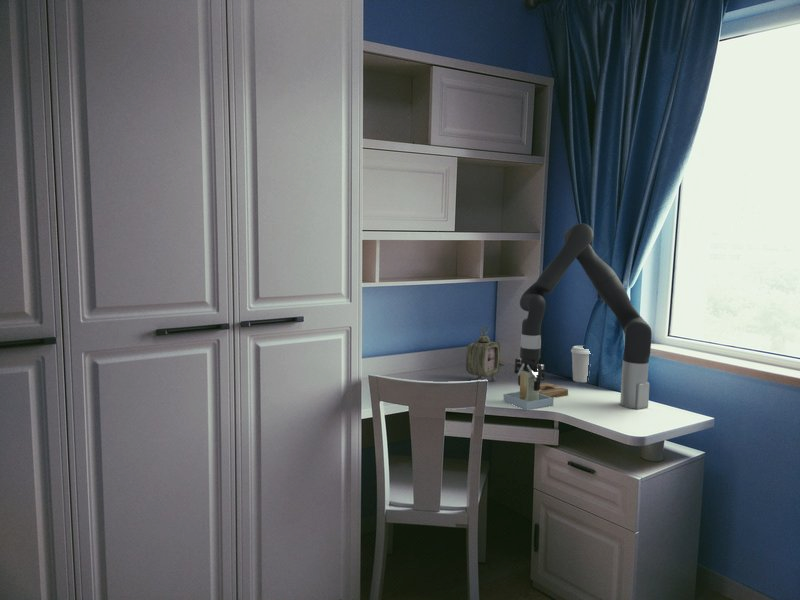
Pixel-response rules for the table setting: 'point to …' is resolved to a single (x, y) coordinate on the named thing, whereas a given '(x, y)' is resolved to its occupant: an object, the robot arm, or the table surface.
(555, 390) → the walnut plate
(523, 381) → the skincare box
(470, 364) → the tabletop clock
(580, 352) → the coffee cup
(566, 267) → the robot arm
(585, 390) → the table surface
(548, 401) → the tray
